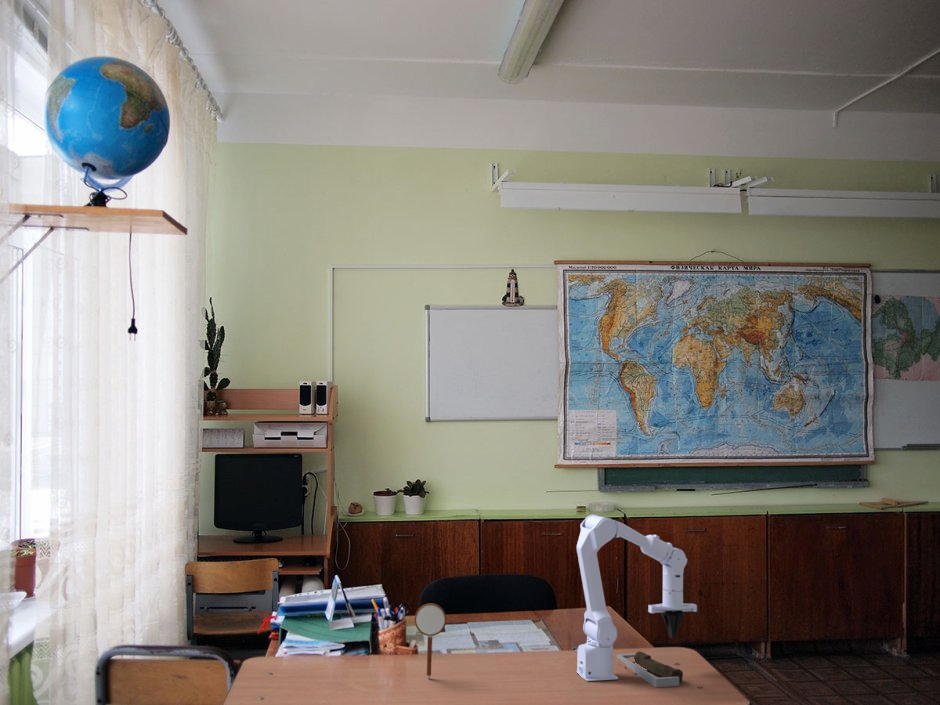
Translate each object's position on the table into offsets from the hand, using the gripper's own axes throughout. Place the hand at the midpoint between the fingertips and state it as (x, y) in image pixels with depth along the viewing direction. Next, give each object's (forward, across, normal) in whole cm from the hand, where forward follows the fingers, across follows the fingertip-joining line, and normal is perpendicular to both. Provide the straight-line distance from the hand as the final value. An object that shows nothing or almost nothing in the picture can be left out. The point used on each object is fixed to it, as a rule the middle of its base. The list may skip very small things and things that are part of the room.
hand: (672, 637), depth 237 cm
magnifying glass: (+10, +70, -6) cm, 71 cm away
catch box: (+9, +8, +1) cm, 12 cm away
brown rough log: (+10, +7, +2) cm, 12 cm away
